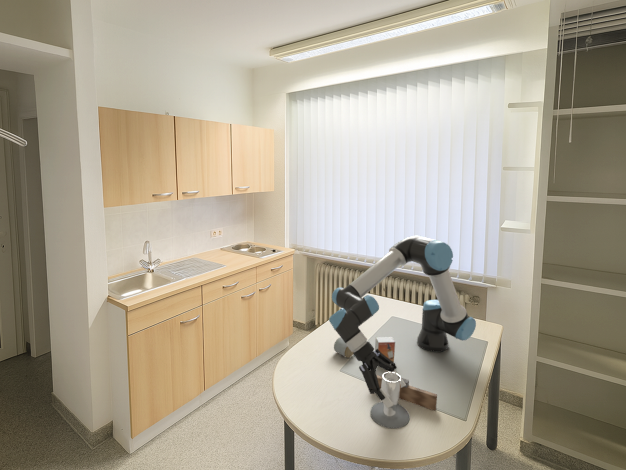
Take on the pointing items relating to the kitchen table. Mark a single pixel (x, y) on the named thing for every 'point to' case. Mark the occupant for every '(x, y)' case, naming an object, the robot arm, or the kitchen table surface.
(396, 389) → the beer glass
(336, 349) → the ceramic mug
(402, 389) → the board
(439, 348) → the robot arm
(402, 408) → the round pad
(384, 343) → the small box
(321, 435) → the kitchen table surface
